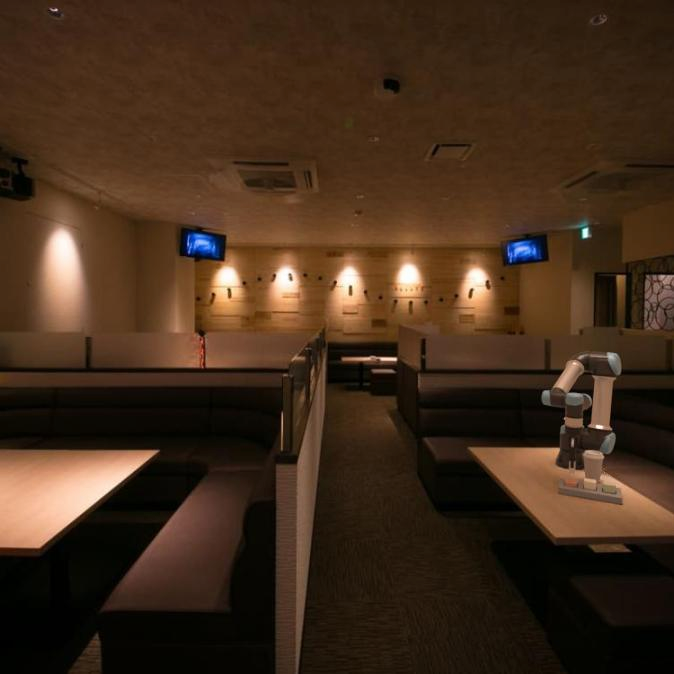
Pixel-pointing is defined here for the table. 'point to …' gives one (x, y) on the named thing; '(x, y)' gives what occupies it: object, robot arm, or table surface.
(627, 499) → the table surface
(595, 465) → the coffee cup
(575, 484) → the terracotta key
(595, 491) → the keypad board
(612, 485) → the sage key
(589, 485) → the ivory key
